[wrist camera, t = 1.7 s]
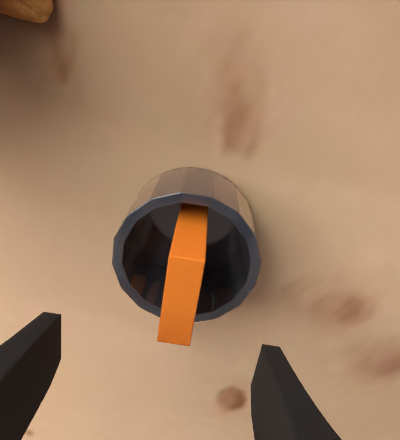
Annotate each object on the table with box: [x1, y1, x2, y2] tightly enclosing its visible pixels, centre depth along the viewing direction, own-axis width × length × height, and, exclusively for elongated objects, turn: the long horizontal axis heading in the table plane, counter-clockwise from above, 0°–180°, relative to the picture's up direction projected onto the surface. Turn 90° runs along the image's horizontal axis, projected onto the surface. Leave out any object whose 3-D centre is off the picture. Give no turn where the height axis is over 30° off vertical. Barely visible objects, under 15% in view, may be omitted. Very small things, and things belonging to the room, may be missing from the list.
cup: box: [112, 167, 261, 322], centre depth 20 cm, size 7×7×4 cm
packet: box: [157, 203, 208, 346], centre depth 18 cm, size 1×4×7 cm, turn 171°
